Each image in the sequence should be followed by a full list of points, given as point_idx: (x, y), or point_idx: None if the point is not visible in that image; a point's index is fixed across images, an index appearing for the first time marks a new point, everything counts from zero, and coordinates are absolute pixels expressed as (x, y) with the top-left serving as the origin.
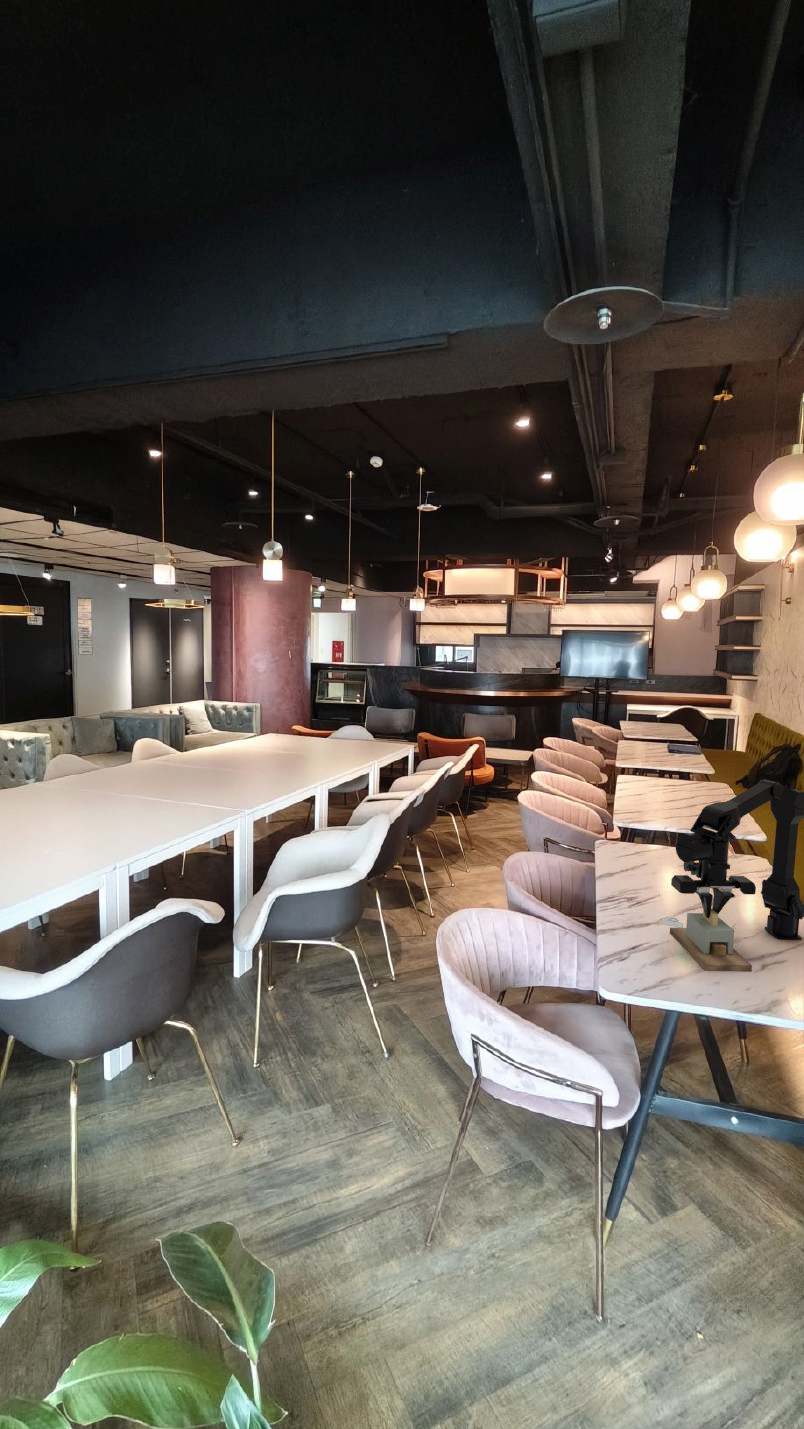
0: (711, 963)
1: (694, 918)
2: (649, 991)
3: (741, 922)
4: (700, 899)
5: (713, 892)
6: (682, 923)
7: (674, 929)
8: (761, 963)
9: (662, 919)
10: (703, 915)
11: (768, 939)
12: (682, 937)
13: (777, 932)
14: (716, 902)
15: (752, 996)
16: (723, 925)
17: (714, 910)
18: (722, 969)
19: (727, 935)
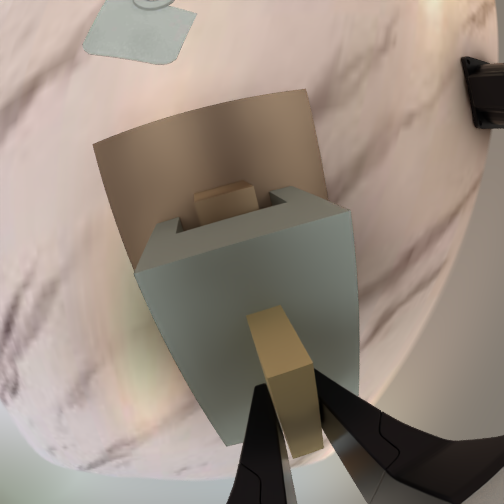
0: None
1: (181, 351)
2: (100, 469)
3: (415, 7)
4: (231, 494)
5: (407, 484)
6: (187, 16)
7: (111, 160)
8: (384, 307)
9: (105, 9)
10: (250, 330)
11: (457, 127)
12: (139, 248)
13: (485, 111)
14: (358, 470)
15: (287, 447)
16: (333, 378)
17: (324, 420)
18: None
19: None
